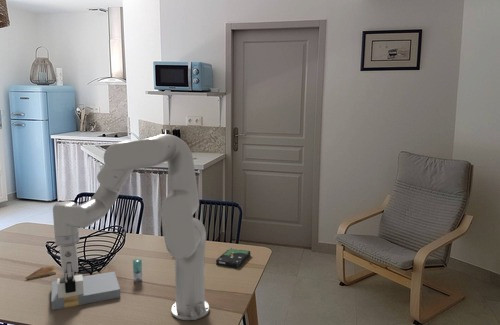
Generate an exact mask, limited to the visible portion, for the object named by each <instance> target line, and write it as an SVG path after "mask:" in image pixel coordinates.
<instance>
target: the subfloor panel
mask: <svg viewBox="0 0 500 325" xmlns="http://www.w3.org/2000/svg"><path fill="white" fill-rule="evenodd" d="M82 277H83V289H84V294H81V295H75V296H70V297H64V298H58V288H57V280H55V281H51V297H50V298H51V300H50V301H51V310H52V311H54V309H55V310H59V309H64V308H71V307H77V306H80V305H85V304H86V305H87V304H92V303H95V302H96V303H97V302H101V301H107V300H111V299H116V298H117V299H118V298H121V287H120V284H119V281H118V279H117V275H116V272H115V271H110V272H109V271H108V272H103V273H97V274H91V275H85V276H83V275H82Z"/></svg>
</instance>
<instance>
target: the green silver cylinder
mask: <svg viewBox="0 0 500 325" xmlns="http://www.w3.org/2000/svg"><path fill="white" fill-rule="evenodd" d="M142 261H143V260H142V259H140V258H137V259H134V260H132V268H133V272H132V273H133V282H134V283H140V282H142V281H143V268H142V267H143V265H142V264H143V263H142Z"/></svg>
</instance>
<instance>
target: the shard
mask: <svg viewBox="0 0 500 325" xmlns="http://www.w3.org/2000/svg"><path fill="white" fill-rule="evenodd" d="M56 274H57V272H56V268H55V265H50V266H43V267H41V268H38V269H37V270H36V271H34V272H33V273H31V274H29V275H28V276H26V277H25V279H26V280H27V279H29V280H33V279H37V277H38V278H41V276H42V277H46V276H52V275H56ZM32 278H33V279H32Z"/></svg>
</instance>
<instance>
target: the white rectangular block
mask: <svg viewBox="0 0 500 325" xmlns="http://www.w3.org/2000/svg"><path fill="white" fill-rule="evenodd" d="M74 280H75V285H76V291H75V292H71V293H66V292H65V282H66V280H65V276H63V277H60V278H59V277H58V278H57V280H56V281H57V288H58V298H64V297H70V296H75V295H81V294H84V289H83V274H77V275H76V274H75V276H74Z"/></svg>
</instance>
